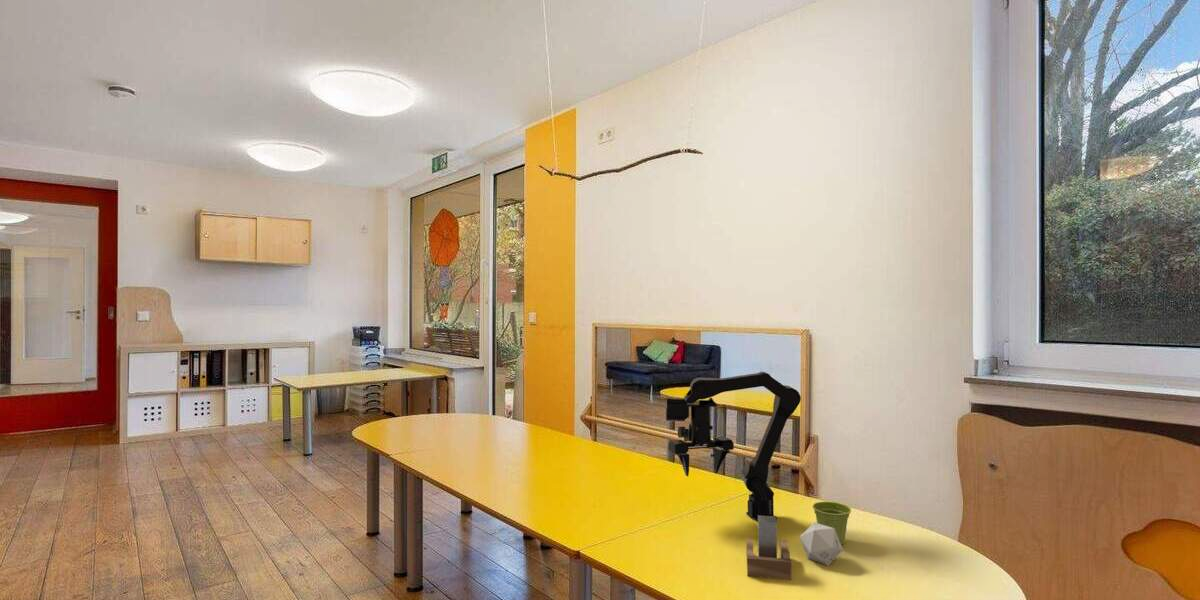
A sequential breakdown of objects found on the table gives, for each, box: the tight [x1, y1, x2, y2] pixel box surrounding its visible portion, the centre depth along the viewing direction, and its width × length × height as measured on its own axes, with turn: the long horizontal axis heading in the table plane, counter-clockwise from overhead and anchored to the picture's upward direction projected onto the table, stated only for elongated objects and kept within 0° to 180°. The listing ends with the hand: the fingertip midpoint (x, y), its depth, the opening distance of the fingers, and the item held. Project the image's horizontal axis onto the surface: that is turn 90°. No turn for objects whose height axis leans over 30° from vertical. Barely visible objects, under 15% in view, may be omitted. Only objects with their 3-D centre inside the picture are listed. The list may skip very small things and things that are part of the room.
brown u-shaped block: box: [745, 537, 792, 581], centre depth 138 cm, size 12×10×4 cm
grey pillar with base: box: [757, 515, 778, 558], centre depth 138 cm, size 7×4×11 cm, turn 167°
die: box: [799, 522, 844, 566], centre depth 141 cm, size 8×9×10 cm
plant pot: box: [812, 501, 852, 545], centre depth 152 cm, size 9×9×9 cm
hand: (701, 474), depth 172 cm, fingers open, 9 cm apart
